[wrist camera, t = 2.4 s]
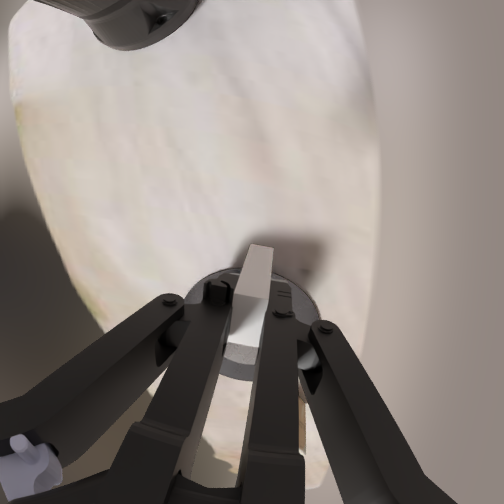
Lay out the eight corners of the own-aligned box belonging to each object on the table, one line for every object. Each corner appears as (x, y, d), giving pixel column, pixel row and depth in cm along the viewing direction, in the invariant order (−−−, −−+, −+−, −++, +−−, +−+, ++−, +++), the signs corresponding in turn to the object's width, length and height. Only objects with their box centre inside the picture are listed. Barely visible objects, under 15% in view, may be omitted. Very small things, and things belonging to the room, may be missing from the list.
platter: (181, 255, 34) (180, 256, 33) (337, 282, 33) (338, 283, 32) (180, 365, 41) (180, 367, 41) (300, 387, 40) (300, 388, 40)
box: (305, 404, 42) (307, 455, 31) (284, 410, 43) (281, 461, 33) (293, 388, 40) (293, 443, 30) (270, 395, 42) (266, 449, 31)
